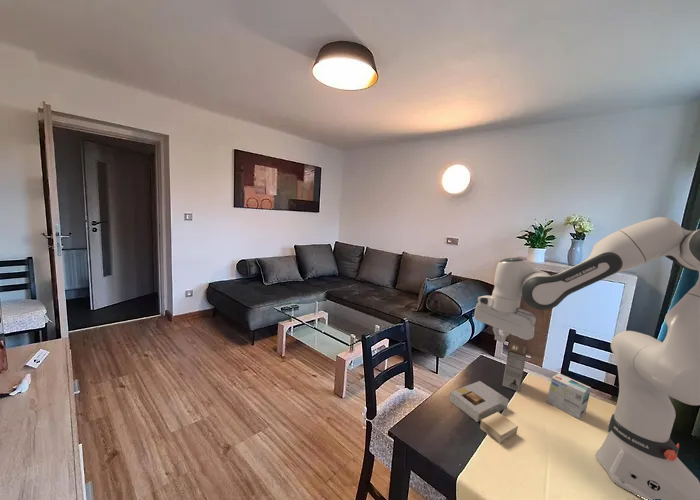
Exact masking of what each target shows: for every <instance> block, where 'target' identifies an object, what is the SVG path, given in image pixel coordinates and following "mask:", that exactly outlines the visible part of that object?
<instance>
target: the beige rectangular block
mask: <svg viewBox="0 0 700 500" xmlns="http://www.w3.org/2000/svg"><path fill="white" fill-rule="evenodd" d="M518 428H519V426H518V425H517V424H515V423H514V422H513V421H512V420H510V418H507V417H506V416H504V415H503V414H501V413H500V412H496V413H494V414H492V415H490V416H488V417H486V418H484V419H482V420H481V421H480V425H479V429H480V430H482V431H483V432H484V433H485V432H486V433H485V434H487V435H488V436H489V437H490V436H491V437H490V438H492V439H493V440H494V441H495V442H497V443H498V444H499V445H500V444H502V443H504V442H506V441H507V440H509V439H511V438H512V437H514V436H516V435H517V432H518Z"/></svg>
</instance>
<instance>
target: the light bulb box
mask: <svg viewBox="0 0 700 500" xmlns="http://www.w3.org/2000/svg"><path fill="white" fill-rule="evenodd" d="M550 380H551V381H550V384H549V389H548V393H547V399H546V403H548V404H550V405H552V406H554V407H555V408H557V409H559V410H561V411H563V412H565V413H567V414H568V415H570V416H572V417H574V418H576V419H578V420H579V419H581V418H582V417H583V416H584V415H585V414H587V413H586V411H587V408H588V404H589V399H590V394H591V389H592V387H591V386H589V385H587V384H584V383H582V382H580V381H578V380H575V379H573V378H571V377H569V376H566V375H564V374H562V373H560V372H558V373H557V374H555V375H553V376H551V379H550Z"/></svg>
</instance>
